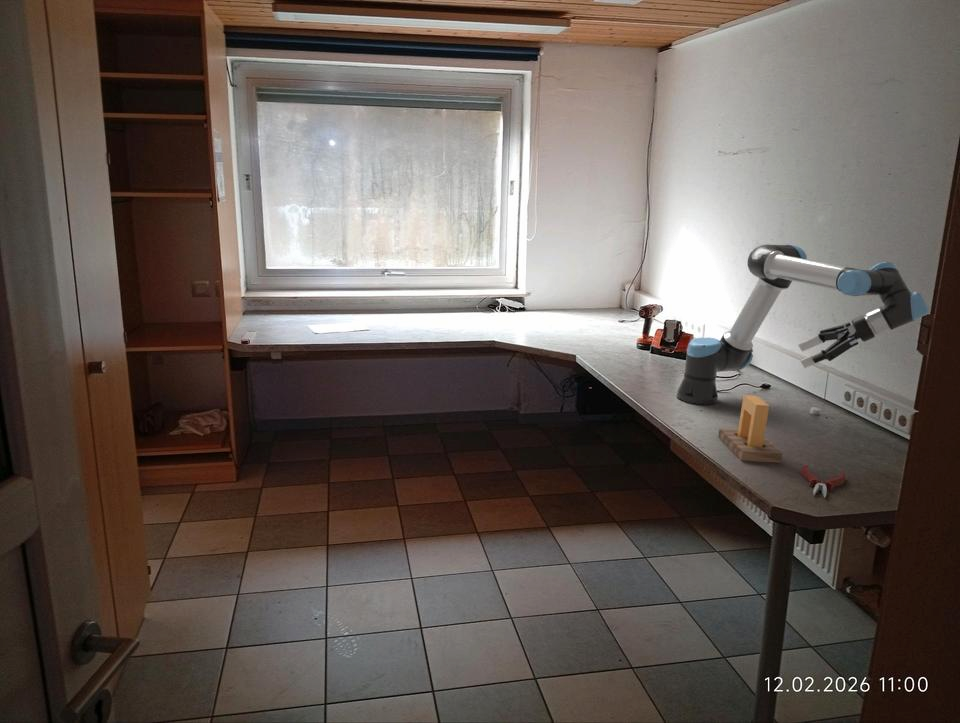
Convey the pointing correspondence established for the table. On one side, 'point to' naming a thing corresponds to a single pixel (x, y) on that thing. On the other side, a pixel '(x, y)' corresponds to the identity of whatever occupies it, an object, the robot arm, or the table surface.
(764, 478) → the table surface
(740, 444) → the wooden slotted board
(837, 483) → the pliers
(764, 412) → the orange arch-shaped block
